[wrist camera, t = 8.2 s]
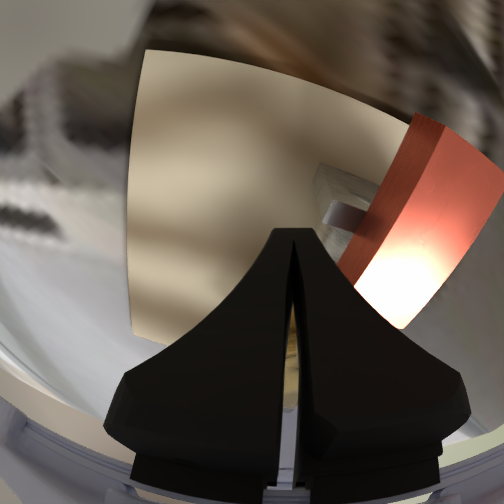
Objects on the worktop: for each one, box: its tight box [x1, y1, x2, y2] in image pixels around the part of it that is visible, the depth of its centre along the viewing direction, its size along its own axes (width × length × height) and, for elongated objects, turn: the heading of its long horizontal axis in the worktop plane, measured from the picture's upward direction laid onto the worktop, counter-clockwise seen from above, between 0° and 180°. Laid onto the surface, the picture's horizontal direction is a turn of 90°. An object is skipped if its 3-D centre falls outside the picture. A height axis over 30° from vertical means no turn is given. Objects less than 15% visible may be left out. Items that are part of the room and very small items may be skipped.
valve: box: [283, 162, 380, 413], centre depth 17 cm, size 18×6×4 cm, turn 165°
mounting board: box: [127, 50, 409, 346], centre depth 17 cm, size 22×18×1 cm
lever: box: [283, 112, 504, 406], centre depth 11 cm, size 15×4×2 cm, turn 163°
